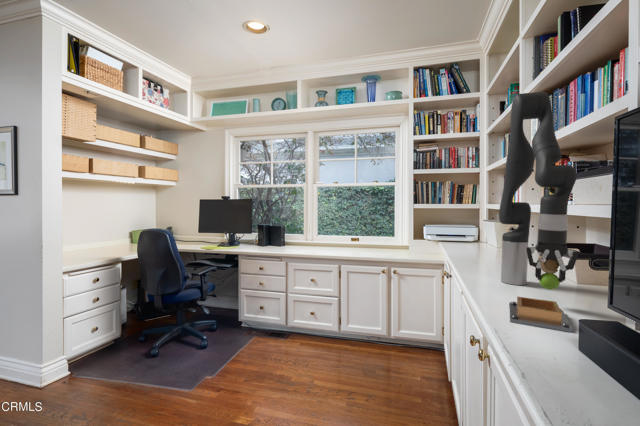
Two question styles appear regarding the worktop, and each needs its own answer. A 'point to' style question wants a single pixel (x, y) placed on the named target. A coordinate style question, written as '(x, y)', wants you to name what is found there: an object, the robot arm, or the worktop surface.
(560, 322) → the socket plate
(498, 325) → the worktop surface
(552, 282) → the snail figurine
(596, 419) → the worktop surface
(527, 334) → the worktop surface
